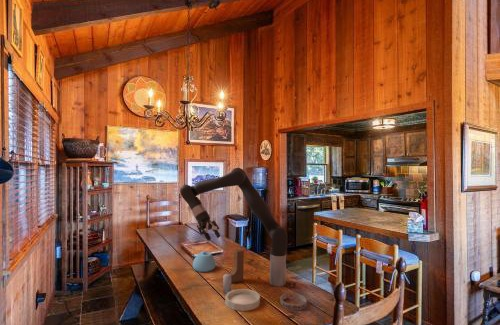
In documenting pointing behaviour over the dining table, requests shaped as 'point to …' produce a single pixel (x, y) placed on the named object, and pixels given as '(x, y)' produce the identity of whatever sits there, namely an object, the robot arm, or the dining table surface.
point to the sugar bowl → (204, 262)
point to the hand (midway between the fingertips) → (214, 238)
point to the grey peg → (226, 283)
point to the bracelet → (292, 306)
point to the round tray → (242, 299)
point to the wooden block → (237, 266)
